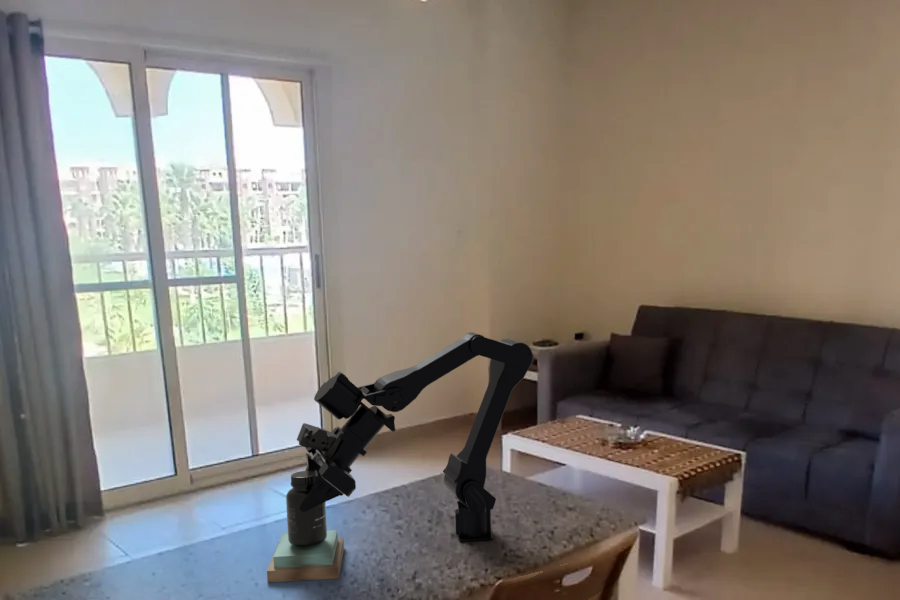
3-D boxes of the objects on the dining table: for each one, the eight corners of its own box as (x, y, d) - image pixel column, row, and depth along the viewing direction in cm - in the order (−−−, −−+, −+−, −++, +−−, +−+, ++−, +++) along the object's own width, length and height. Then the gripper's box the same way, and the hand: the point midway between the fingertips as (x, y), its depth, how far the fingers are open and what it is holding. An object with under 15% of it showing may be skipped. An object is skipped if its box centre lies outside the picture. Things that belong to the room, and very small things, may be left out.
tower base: (343, 548, 134) (343, 527, 134) (338, 578, 122) (337, 555, 122) (279, 551, 134) (278, 531, 133) (267, 582, 122) (266, 559, 121)
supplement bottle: (327, 545, 125) (323, 477, 124) (287, 549, 123) (283, 481, 123) (327, 531, 131) (323, 467, 131) (289, 535, 130) (285, 470, 130)
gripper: (314, 397, 136) (258, 462, 133) (332, 419, 118) (268, 495, 115) (357, 432, 139) (303, 496, 136) (381, 459, 122) (320, 533, 119)
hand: (298, 503), depth 127 cm, fingers closed on supplement bottle, 7 cm apart
